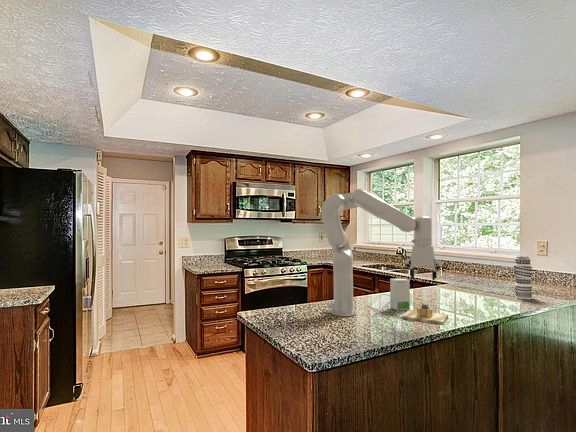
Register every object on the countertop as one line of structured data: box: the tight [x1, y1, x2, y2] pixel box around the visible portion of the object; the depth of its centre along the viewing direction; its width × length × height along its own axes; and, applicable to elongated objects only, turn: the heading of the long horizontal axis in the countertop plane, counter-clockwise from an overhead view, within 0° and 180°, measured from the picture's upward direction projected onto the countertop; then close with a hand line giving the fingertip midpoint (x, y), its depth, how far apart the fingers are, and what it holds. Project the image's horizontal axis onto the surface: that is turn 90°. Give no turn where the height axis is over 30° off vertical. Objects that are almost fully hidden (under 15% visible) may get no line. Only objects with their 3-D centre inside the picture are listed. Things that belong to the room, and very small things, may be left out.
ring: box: [416, 305, 434, 317], centre depth 163 cm, size 7×7×4 cm
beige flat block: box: [401, 303, 449, 325], centre depth 163 cm, size 18×14×6 cm
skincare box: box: [389, 277, 411, 311], centre depth 181 cm, size 8×7×16 cm
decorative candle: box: [513, 255, 533, 300], centre depth 207 cm, size 9×9×25 cm
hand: (423, 278), depth 163 cm, fingers open, 9 cm apart
